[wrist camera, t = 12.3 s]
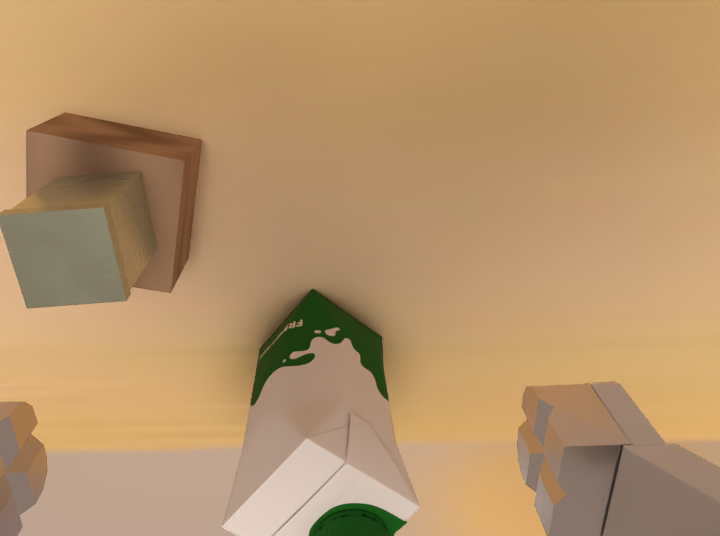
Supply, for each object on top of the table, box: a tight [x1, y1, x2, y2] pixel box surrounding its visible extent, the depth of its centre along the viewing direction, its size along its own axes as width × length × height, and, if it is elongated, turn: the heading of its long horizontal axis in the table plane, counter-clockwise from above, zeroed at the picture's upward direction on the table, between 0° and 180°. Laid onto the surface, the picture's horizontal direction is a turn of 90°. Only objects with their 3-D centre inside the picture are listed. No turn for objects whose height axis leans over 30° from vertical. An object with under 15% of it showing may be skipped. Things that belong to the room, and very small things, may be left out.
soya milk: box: [222, 289, 420, 536], centre depth 40 cm, size 9×9×20 cm
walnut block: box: [26, 113, 202, 293], centre depth 40 cm, size 9×9×6 cm
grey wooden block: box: [0, 171, 157, 308], centre depth 34 cm, size 5×5×7 cm
